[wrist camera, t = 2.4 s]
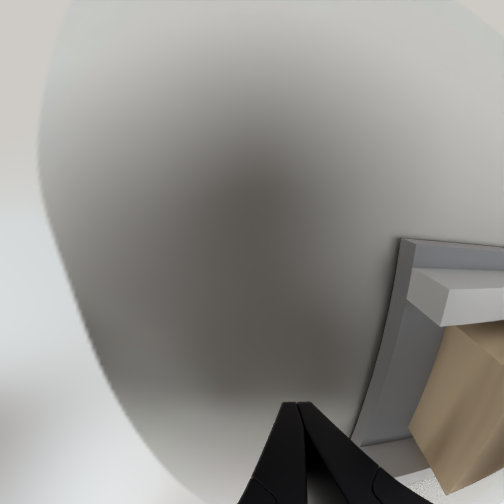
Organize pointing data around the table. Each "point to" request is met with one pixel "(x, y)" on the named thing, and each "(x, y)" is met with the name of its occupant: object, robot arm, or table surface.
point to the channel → (423, 341)
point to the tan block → (464, 406)
